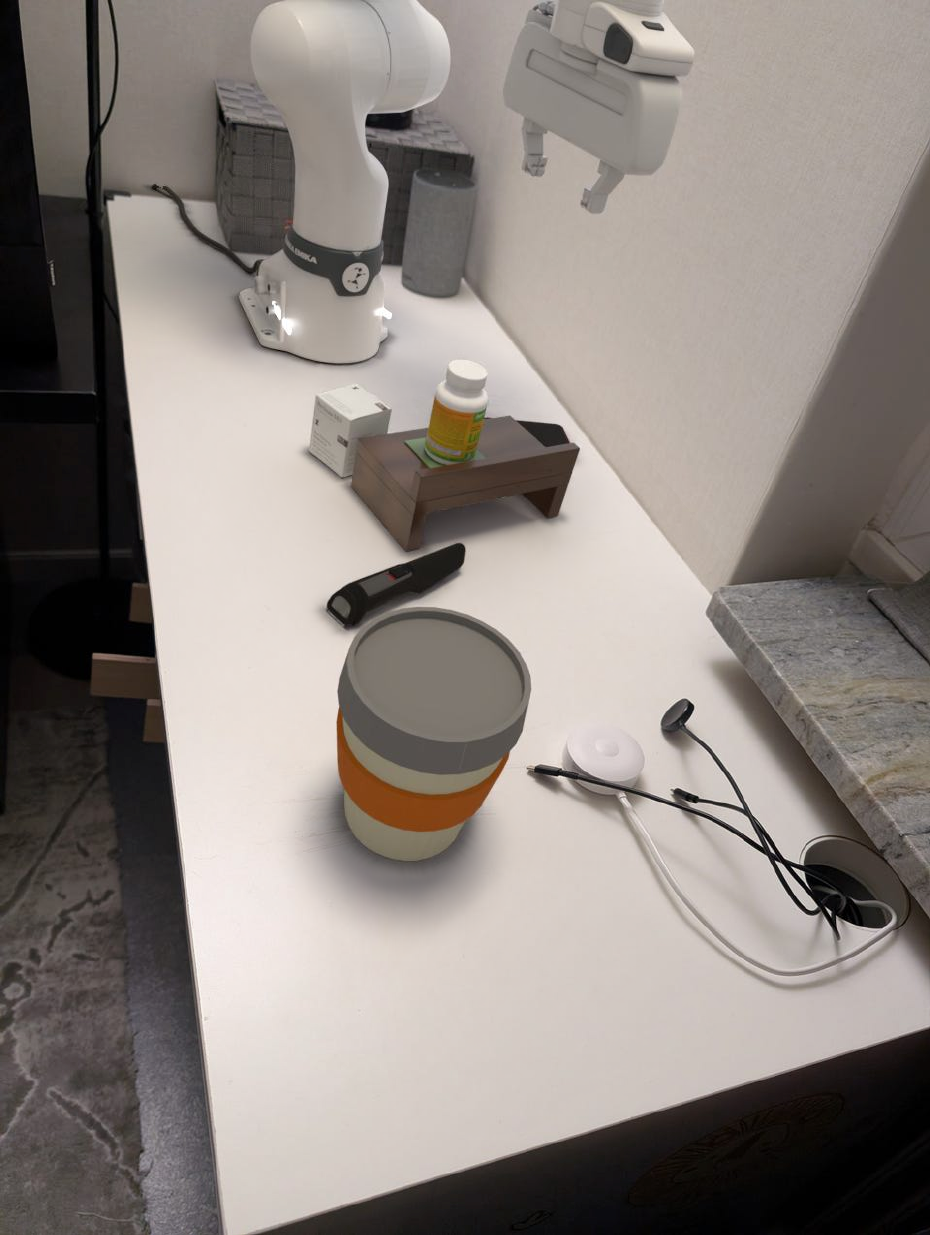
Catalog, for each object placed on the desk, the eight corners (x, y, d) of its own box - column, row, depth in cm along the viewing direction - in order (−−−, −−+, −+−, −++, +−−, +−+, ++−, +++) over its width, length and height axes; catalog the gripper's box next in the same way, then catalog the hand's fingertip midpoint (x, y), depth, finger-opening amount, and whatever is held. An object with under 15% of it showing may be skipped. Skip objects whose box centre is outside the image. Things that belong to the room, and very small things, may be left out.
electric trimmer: (470, 578, 90) (477, 553, 88) (348, 632, 80) (353, 605, 78) (445, 557, 91) (451, 532, 89) (323, 607, 82) (326, 581, 80)
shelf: (350, 486, 97) (361, 412, 91) (498, 459, 107) (516, 391, 102) (406, 551, 90) (421, 477, 85) (557, 516, 101) (580, 448, 95)
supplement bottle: (468, 473, 92) (489, 388, 86) (418, 458, 92) (435, 372, 86) (478, 448, 96) (499, 365, 90) (430, 434, 96) (447, 350, 90)
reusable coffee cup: (399, 719, 74) (431, 580, 64) (518, 814, 69) (572, 679, 59) (283, 803, 65) (299, 658, 56) (409, 918, 61) (451, 781, 51)
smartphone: (577, 455, 110) (459, 445, 106) (575, 461, 111) (458, 452, 106) (561, 424, 115) (449, 413, 111) (559, 430, 116) (447, 419, 112)
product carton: (307, 452, 100) (313, 393, 95) (349, 438, 104) (356, 381, 99) (342, 479, 98) (350, 420, 93) (383, 464, 101) (393, 407, 97)
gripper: (506, -12, 81) (474, 153, 90) (655, 53, 69) (601, 234, 78) (559, -3, 84) (524, 155, 93) (710, 60, 73) (652, 233, 82)
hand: (560, 192), depth 86 cm, fingers open, 8 cm apart
